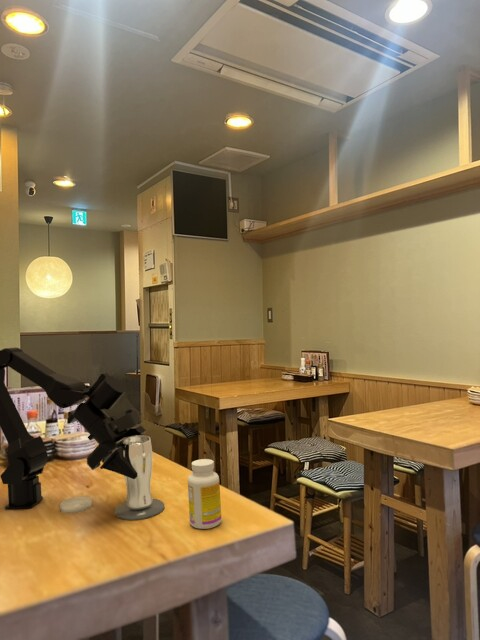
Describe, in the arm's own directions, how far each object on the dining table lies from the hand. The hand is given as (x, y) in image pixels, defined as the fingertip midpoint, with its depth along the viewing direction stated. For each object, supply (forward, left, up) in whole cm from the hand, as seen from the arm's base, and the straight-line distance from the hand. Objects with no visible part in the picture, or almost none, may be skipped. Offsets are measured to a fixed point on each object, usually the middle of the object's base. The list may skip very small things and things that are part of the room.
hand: (142, 472), depth 108 cm
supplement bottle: (+15, -8, -9) cm, 19 cm away
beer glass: (-1, +1, -8) cm, 8 cm away
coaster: (-1, 0, -9) cm, 9 cm away
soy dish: (-17, +3, -9) cm, 20 cm away
